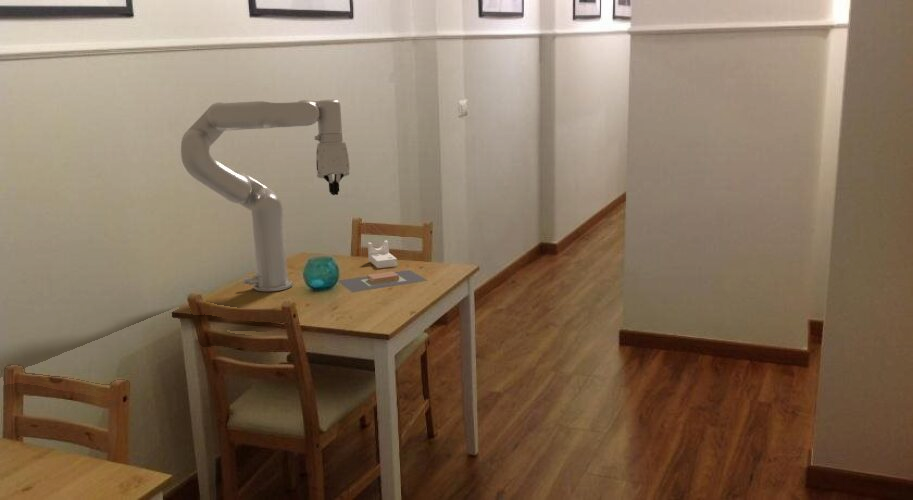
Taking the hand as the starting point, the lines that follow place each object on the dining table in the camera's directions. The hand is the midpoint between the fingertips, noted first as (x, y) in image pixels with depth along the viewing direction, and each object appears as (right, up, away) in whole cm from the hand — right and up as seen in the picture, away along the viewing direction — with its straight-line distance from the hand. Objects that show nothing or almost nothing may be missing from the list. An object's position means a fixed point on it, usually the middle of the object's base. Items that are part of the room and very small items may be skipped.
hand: (334, 194), depth 273 cm
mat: (+16, -29, +2) cm, 33 cm away
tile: (+12, -28, 0) cm, 31 cm away
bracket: (+14, -24, +25) cm, 37 cm away
